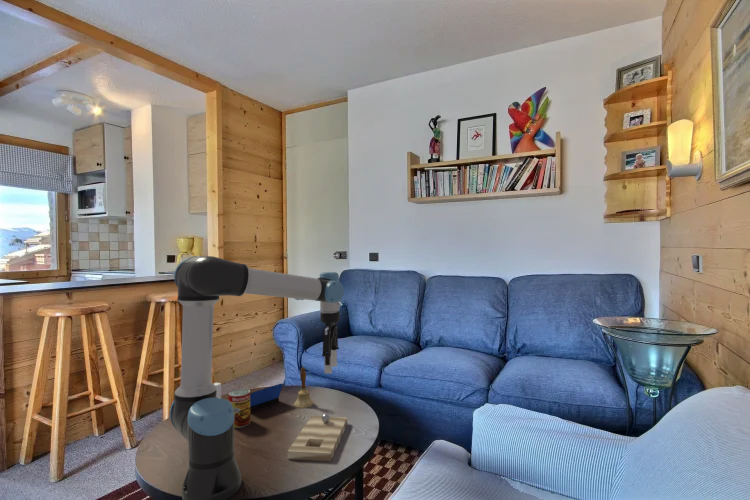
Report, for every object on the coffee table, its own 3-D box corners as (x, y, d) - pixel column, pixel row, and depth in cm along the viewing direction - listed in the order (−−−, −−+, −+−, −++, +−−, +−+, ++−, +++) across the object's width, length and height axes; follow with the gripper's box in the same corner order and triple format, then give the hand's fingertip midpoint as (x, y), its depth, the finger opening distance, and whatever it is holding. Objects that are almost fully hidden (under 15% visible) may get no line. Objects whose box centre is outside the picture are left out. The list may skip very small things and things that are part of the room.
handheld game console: (268, 396, 176) (268, 376, 176) (284, 404, 166) (284, 382, 166) (235, 406, 164) (235, 385, 164) (250, 415, 155) (250, 392, 155)
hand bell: (314, 406, 162) (313, 369, 162) (294, 409, 160) (293, 371, 160) (312, 399, 170) (311, 363, 170) (293, 401, 168) (292, 365, 168)
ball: (329, 424, 140) (328, 415, 140) (320, 424, 140) (320, 415, 140) (331, 420, 143) (331, 412, 143) (322, 420, 143) (322, 411, 143)
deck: (330, 461, 120) (330, 453, 120) (287, 459, 121) (287, 451, 121) (347, 424, 145) (347, 417, 145) (311, 422, 147) (311, 416, 147)
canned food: (235, 429, 142) (235, 397, 142) (225, 423, 147) (224, 392, 147) (254, 422, 148) (254, 391, 148) (243, 417, 153) (243, 387, 153)
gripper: (333, 316, 140) (334, 378, 140) (344, 307, 160) (345, 362, 160) (313, 316, 141) (314, 378, 141) (327, 307, 161) (328, 361, 161)
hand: (330, 369), depth 150 cm, fingers open, 8 cm apart
